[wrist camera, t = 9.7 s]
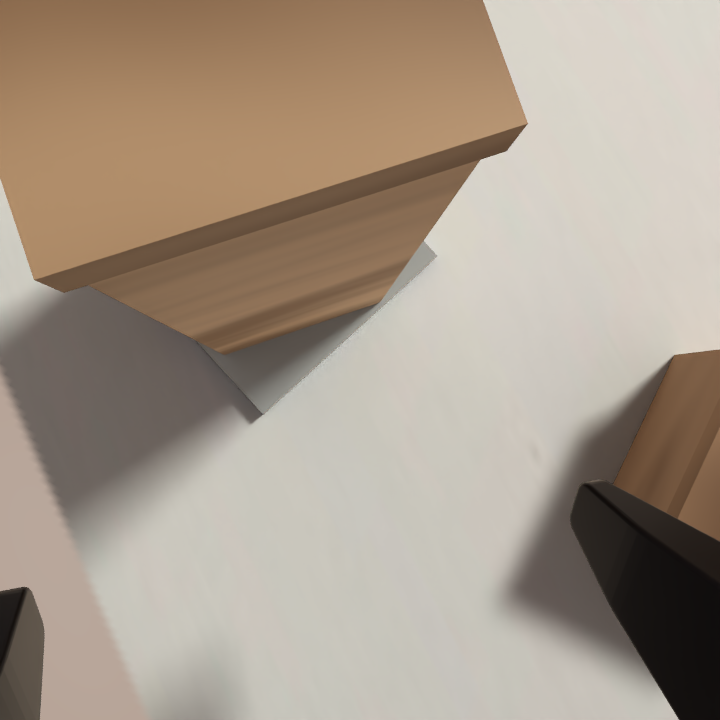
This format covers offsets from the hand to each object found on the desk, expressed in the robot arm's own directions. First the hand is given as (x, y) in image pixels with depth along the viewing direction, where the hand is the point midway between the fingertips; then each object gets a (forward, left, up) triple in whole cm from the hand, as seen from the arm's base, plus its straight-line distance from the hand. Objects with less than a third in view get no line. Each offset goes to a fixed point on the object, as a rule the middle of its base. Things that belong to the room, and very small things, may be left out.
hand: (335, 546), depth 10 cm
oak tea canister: (+6, -4, -10) cm, 13 cm away
